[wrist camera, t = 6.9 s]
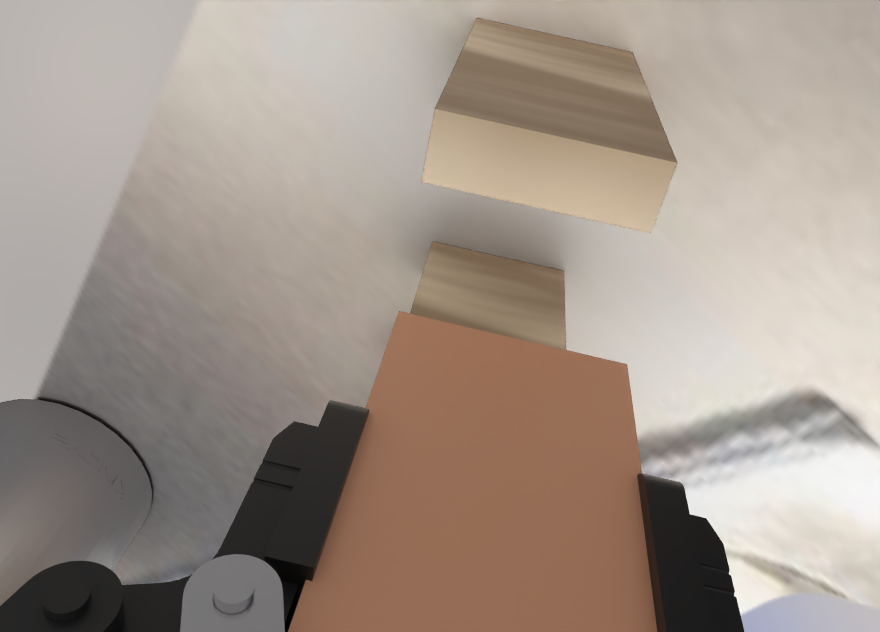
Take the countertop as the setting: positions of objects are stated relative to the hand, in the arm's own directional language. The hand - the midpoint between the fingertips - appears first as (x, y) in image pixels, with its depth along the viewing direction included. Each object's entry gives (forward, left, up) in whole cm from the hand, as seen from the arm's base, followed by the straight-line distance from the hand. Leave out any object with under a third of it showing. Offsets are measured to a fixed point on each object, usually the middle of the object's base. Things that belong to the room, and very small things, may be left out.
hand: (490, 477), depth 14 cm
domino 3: (0, 0, -3) cm, 3 cm away
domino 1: (+3, +3, -15) cm, 15 cm away
